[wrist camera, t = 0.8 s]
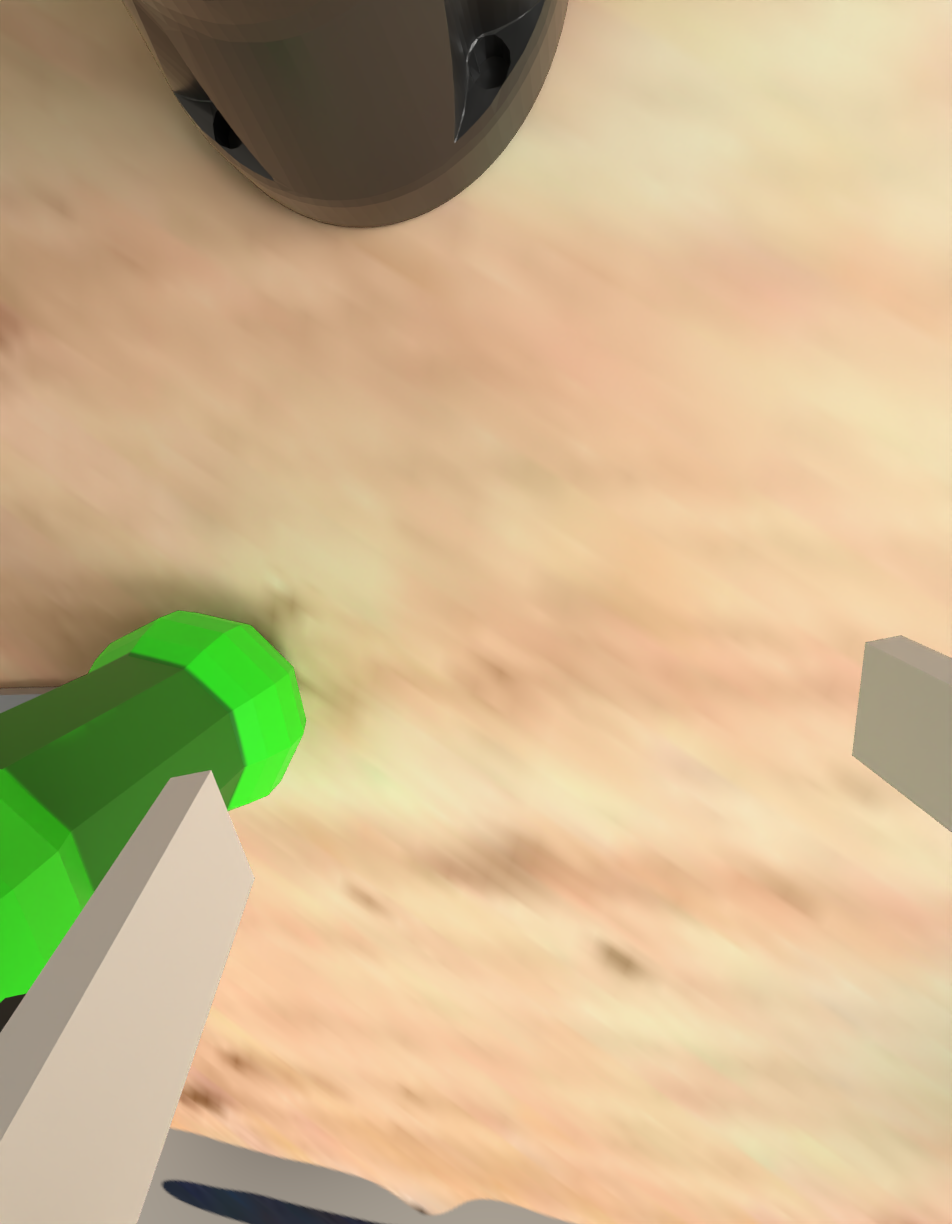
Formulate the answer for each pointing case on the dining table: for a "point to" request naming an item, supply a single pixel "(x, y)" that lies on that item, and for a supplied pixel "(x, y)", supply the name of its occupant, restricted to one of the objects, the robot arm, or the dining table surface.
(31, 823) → the plastic bottle
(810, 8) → the dining table surface
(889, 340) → the dining table surface
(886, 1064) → the dining table surface
